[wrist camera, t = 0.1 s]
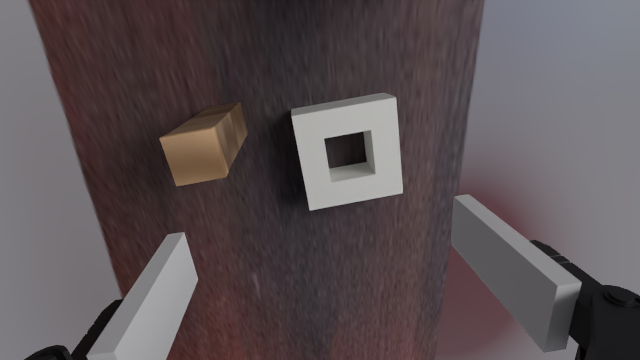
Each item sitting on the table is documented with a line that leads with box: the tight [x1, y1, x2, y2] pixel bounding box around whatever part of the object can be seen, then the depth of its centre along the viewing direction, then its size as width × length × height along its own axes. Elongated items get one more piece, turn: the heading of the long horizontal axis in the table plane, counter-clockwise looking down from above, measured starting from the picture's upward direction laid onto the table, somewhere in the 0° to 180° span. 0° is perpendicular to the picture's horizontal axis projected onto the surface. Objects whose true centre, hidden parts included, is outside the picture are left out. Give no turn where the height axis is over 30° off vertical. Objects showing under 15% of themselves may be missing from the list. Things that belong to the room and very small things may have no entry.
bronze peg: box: [160, 102, 248, 186], centre depth 33 cm, size 4×4×16 cm
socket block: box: [291, 93, 403, 210], centre depth 41 cm, size 12×12×5 cm
